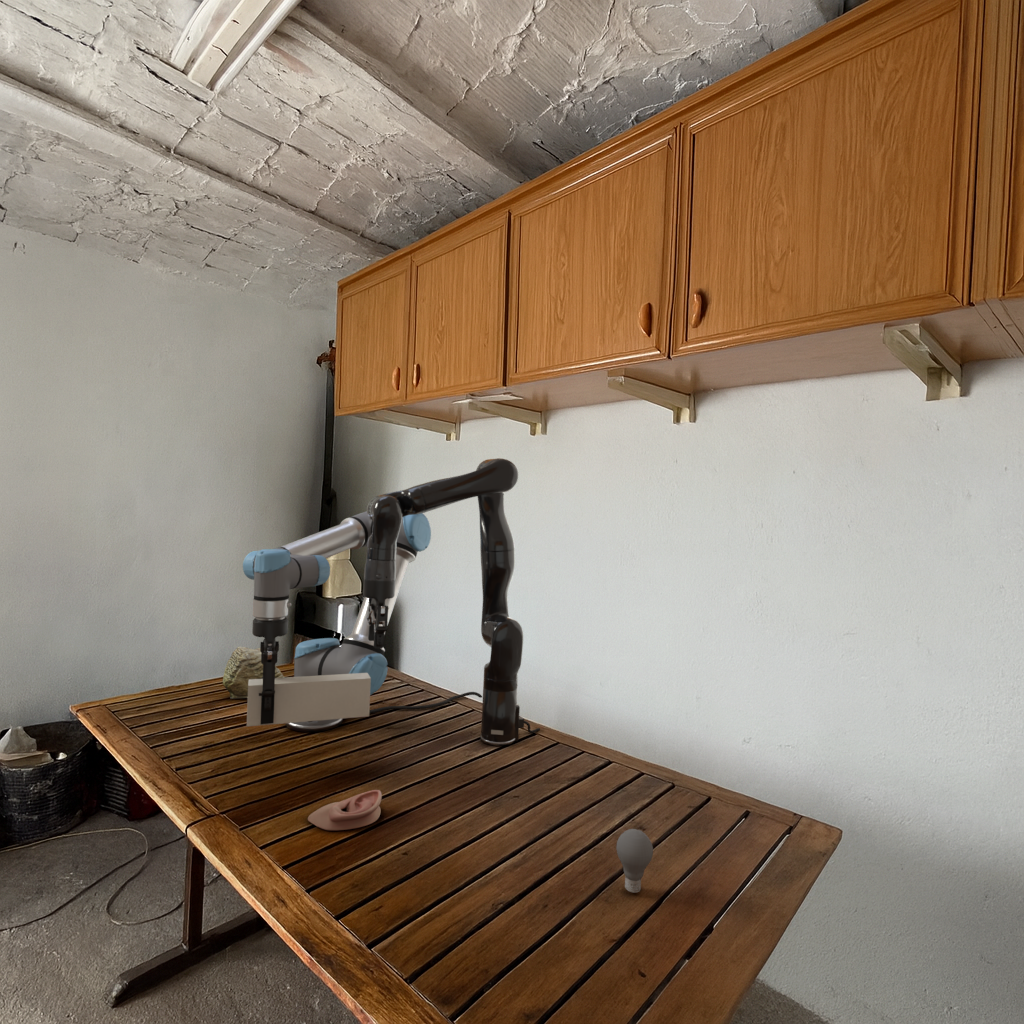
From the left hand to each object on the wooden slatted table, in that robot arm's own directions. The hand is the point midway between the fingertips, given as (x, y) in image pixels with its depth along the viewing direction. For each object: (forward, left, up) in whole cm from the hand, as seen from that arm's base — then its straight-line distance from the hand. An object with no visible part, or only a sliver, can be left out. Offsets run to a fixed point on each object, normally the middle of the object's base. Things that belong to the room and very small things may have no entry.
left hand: (266, 718), depth 145 cm
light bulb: (-17, +84, -12) cm, 87 cm away
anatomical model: (0, +30, -12) cm, 33 cm away
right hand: (-21, +12, +16) cm, 29 cm away
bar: (-8, +5, -1) cm, 9 cm away
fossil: (-26, -52, -12) cm, 60 cm away
